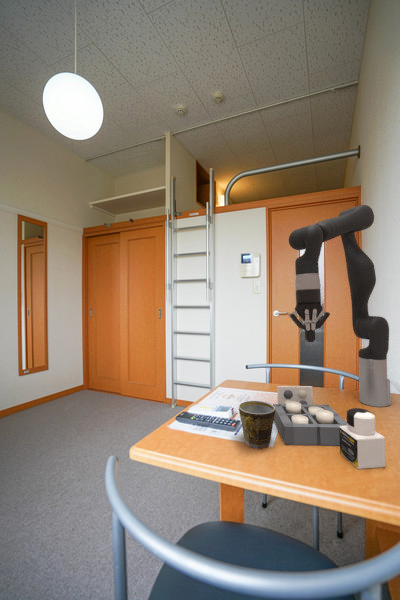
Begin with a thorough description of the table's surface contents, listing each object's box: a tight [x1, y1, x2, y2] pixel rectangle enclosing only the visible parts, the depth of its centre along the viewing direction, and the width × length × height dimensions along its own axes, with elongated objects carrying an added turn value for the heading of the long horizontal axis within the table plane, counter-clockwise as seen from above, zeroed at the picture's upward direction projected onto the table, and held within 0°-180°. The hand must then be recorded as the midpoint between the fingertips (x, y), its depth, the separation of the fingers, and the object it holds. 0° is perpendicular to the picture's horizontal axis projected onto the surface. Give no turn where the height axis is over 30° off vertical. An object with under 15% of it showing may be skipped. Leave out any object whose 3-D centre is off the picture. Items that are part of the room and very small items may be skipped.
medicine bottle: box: [339, 407, 387, 470], centre depth 68 cm, size 7×7×12 cm
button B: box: [316, 410, 334, 424], centre depth 80 cm, size 5×5×3 cm
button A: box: [308, 406, 324, 414], centre depth 87 cm, size 5×5×3 cm
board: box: [272, 403, 347, 447], centre depth 83 cm, size 18×17×5 cm
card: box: [277, 385, 314, 405], centre depth 98 cm, size 12×1×9 cm, turn 86°
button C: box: [286, 401, 301, 414], centre depth 87 cm, size 5×5×3 cm
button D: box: [292, 415, 308, 424], centre depth 80 cm, size 5×5×3 cm
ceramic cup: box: [238, 400, 275, 450], centre depth 76 cm, size 13×10×10 cm
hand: (310, 341), depth 89 cm, fingers closed
